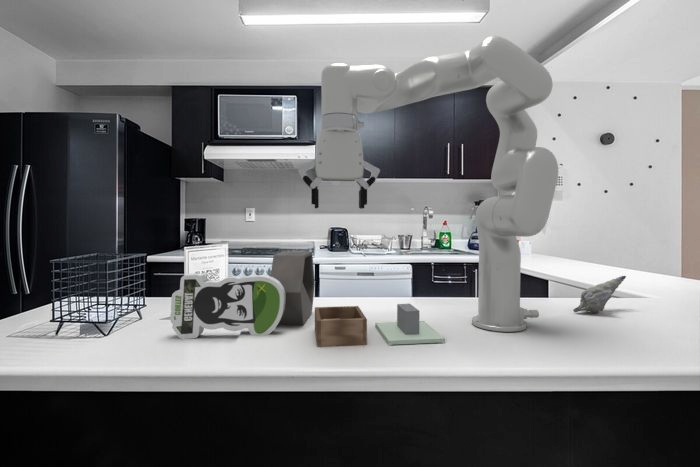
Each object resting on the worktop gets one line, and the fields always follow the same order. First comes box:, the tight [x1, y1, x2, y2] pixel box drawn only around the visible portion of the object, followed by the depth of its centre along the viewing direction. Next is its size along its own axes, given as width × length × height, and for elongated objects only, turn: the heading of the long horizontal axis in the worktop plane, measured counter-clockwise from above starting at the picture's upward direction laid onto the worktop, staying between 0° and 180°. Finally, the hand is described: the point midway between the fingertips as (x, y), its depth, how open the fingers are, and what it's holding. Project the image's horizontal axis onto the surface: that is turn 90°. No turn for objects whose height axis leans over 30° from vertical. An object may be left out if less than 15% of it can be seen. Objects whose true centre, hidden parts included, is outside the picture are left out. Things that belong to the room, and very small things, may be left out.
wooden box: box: [314, 305, 368, 348], centre depth 83 cm, size 10×12×6 cm
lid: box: [374, 303, 446, 347], centre depth 85 cm, size 12×14×7 cm
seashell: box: [573, 275, 627, 314], centre depth 107 cm, size 10×17×10 cm, turn 91°
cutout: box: [169, 272, 286, 340], centre depth 86 cm, size 15×3×25 cm
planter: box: [269, 251, 316, 326], centre depth 99 cm, size 17×8×21 cm
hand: (339, 208), depth 82 cm, fingers open, 9 cm apart
